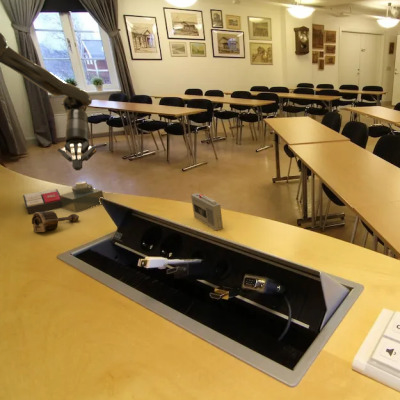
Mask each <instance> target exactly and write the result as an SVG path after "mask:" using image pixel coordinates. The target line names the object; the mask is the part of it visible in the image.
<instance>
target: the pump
mask: <svg viewBox="0 0 400 400" xmlns="http://www.w3.org/2000/svg"><path fill="white" fill-rule="evenodd" d="M87 184H88V182H87V181H84V180H82V181H77V182H75V186H76V187H77V188H85V187H88V186H87Z"/></svg>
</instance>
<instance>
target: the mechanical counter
mask: <svg viewBox="0 0 400 400" xmlns="http://www.w3.org/2000/svg"><path fill="white" fill-rule="evenodd" d="M79 218H80V216H79V215H78V214H76V213H71V214H69V215H68V216H65V217H64V216H62V217H59V216H58V214H57V212H55V211H53V210H48V211H44V212H36V213H34V214H32V218H31V224H32V228H33V232H34V233H44V232H46V231H53V230H56V229H57V228H58V226H59V222H64V221H65V222H67V221H70V222H72V223H75V222H77V221H78V220H79Z"/></svg>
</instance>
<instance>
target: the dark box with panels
mask: <svg viewBox="0 0 400 400" xmlns="http://www.w3.org/2000/svg"><path fill="white" fill-rule="evenodd" d="M59 195H61V194H60V192H59V190H58V189H57V188H53V189H47V190H46V189H45V190H41V191H36V192H30V193H24V194H23V195H22V198H23V201H24V205H25V209H26V211H27V214H28V215H34V213H36V212H46V211H53V210H58V209H63V207H62V204H61V201H60V197H59Z"/></svg>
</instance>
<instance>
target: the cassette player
mask: <svg viewBox="0 0 400 400" xmlns="http://www.w3.org/2000/svg"><path fill="white" fill-rule="evenodd" d="M190 197H191V204H192V211H193V217H194V218H195V219H196V220H198V221H199V222H201V223H203V224H204V225H206V226H207V227H209V228H210V229H213V230H214V231H215V232H216V231H219V230H222V229H224V226H223V216H222V215H223V214H222V207H221V204H220V203H218V202H217V201H216V200H214V199H213V198H211V197H209V196H206V195H205V194H203V193H199V192H196V193H192V194H190Z"/></svg>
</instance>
